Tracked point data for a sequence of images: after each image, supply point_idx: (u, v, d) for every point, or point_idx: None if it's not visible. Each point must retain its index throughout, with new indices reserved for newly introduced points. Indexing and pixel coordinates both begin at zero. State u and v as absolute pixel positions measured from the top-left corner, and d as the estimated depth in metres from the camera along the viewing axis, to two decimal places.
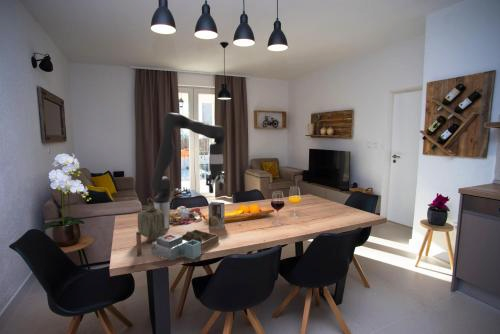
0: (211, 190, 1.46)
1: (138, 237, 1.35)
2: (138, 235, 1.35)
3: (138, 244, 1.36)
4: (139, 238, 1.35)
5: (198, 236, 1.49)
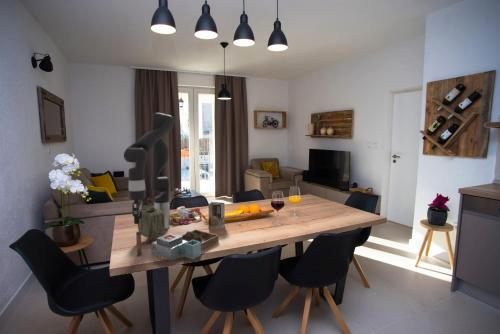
0: None
1: (138, 237, 1.35)
2: (138, 235, 1.35)
3: (138, 244, 1.36)
4: (139, 238, 1.35)
5: (198, 236, 1.49)
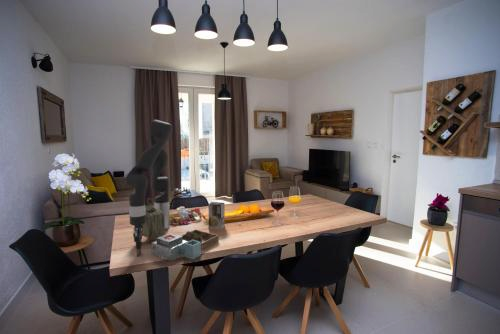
0: None
1: None
2: None
3: None
4: None
5: (198, 236, 1.49)
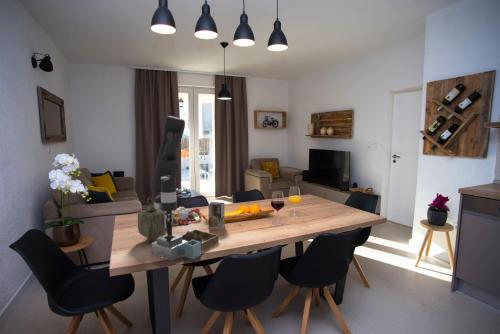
0: None
1: None
2: None
3: None
4: None
5: (198, 236, 1.49)
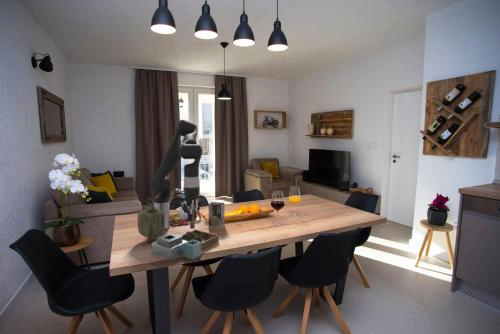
0: None
1: None
2: None
3: None
4: None
5: (198, 236, 1.49)
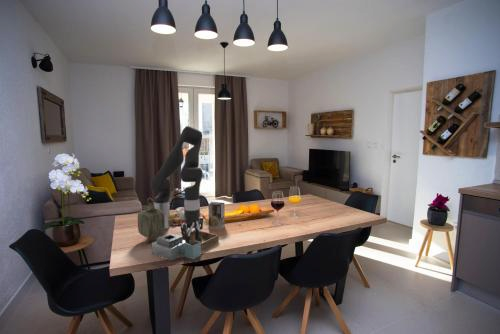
0: None
1: (191, 236, 1.35)
2: (191, 234, 1.35)
3: (191, 243, 1.35)
4: (192, 238, 1.35)
5: None
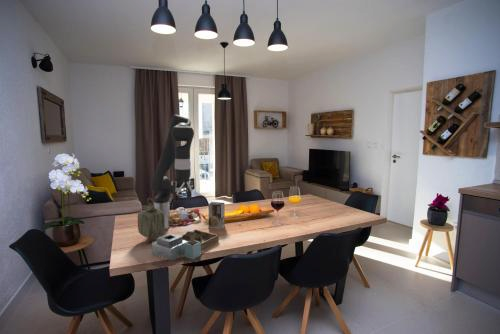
0: None
1: (191, 237, 1.35)
2: (191, 235, 1.35)
3: (190, 244, 1.35)
4: (191, 238, 1.35)
5: (198, 236, 1.49)
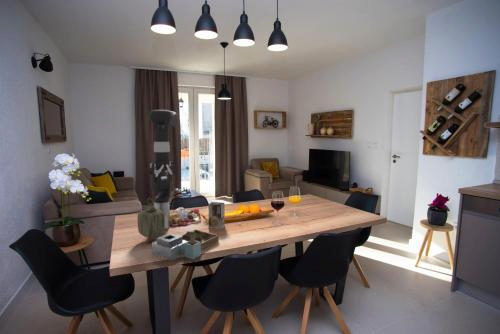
0: None
1: (191, 237, 1.35)
2: (191, 235, 1.35)
3: (191, 244, 1.35)
4: (191, 238, 1.35)
5: (198, 236, 1.49)
